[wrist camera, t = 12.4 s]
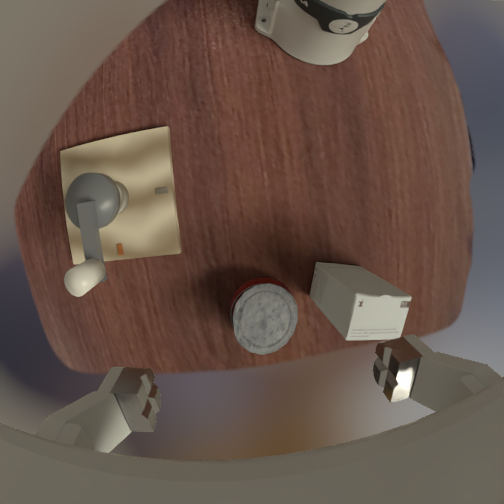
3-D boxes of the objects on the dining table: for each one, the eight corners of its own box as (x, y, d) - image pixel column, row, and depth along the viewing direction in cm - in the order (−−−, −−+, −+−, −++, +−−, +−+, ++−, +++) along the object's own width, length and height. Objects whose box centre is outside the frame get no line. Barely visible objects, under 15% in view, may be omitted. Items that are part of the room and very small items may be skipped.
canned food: (233, 281, 48) (225, 269, 38) (294, 281, 48) (301, 270, 38) (231, 350, 45) (223, 355, 36) (294, 350, 45) (302, 356, 35)
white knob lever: (117, 168, 31) (87, 164, 23) (131, 272, 34) (106, 295, 26) (71, 178, 31) (35, 178, 23) (85, 275, 34) (54, 297, 26)
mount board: (64, 151, 37) (40, 148, 30) (169, 128, 38) (157, 117, 31) (78, 262, 41) (56, 274, 34) (181, 251, 42) (172, 263, 35)
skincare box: (308, 296, 44) (340, 343, 30) (315, 258, 43) (353, 293, 29) (355, 299, 45) (400, 342, 31) (364, 264, 44) (414, 297, 30)
